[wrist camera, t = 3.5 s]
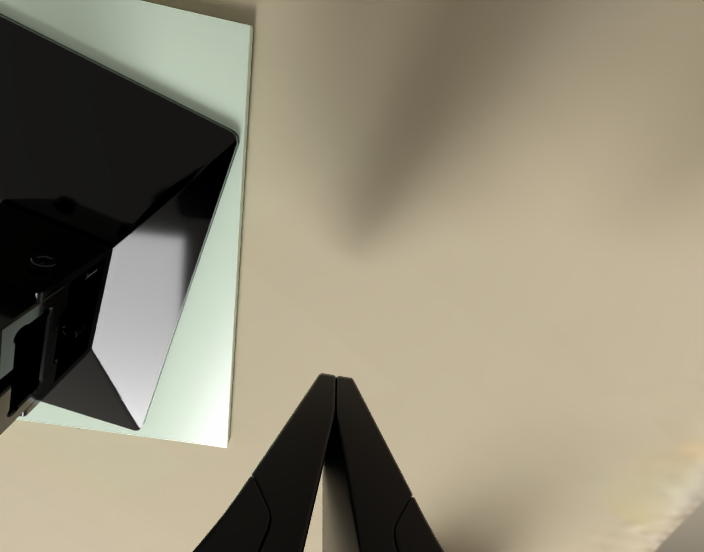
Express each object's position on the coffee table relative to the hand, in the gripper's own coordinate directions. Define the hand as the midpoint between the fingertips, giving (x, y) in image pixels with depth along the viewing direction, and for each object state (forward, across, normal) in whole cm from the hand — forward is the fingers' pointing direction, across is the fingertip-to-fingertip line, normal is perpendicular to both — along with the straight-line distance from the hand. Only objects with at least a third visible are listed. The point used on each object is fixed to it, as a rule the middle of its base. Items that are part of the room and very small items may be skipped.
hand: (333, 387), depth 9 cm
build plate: (+4, +8, 0) cm, 9 cm away
